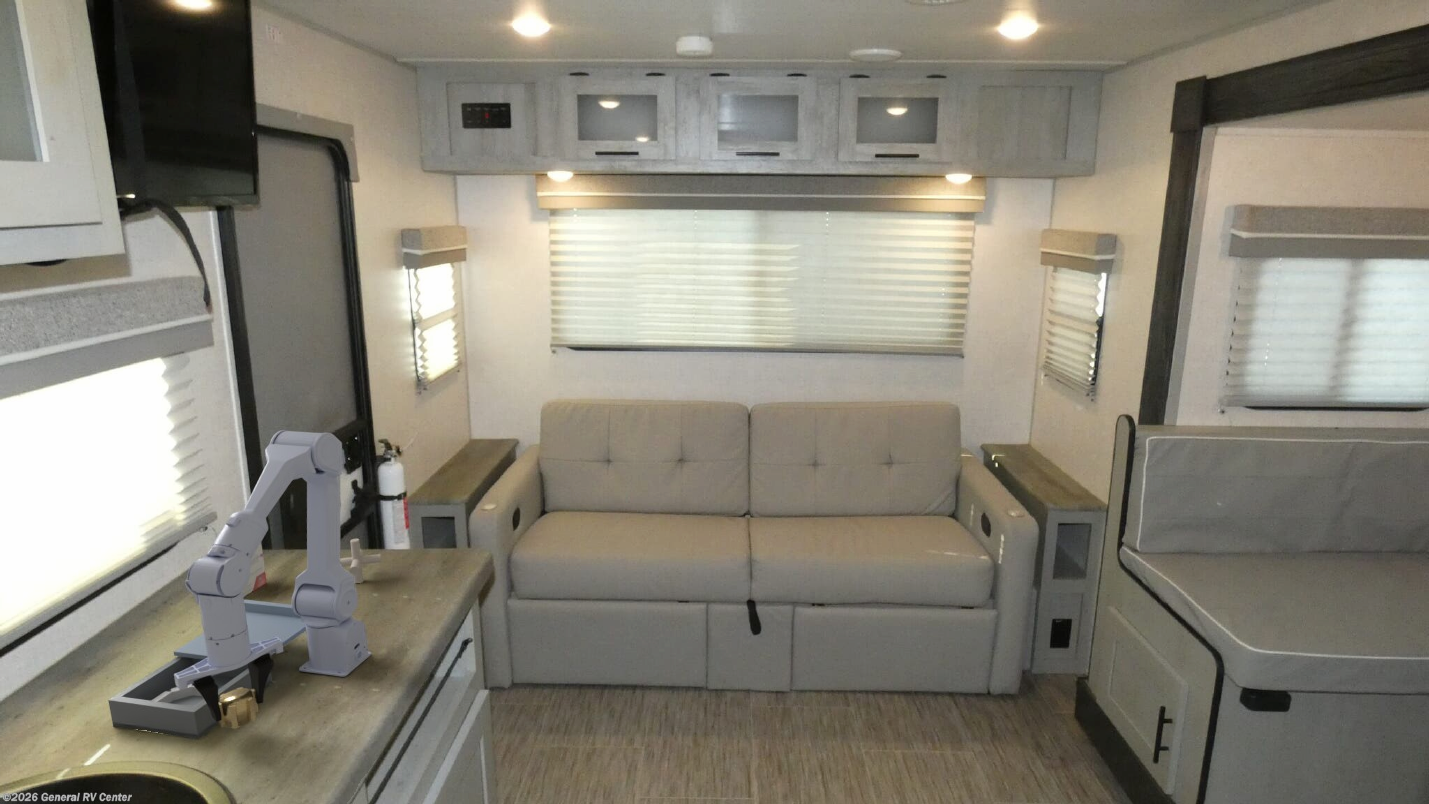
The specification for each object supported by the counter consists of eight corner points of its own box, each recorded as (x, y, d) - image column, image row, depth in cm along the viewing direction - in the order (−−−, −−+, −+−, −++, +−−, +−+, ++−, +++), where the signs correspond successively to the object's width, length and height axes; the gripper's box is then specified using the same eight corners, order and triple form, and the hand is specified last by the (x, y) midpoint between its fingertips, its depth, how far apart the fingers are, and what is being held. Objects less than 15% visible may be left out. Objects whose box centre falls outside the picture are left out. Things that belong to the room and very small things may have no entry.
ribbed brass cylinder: (265, 711, 128) (262, 689, 127) (242, 731, 124) (238, 707, 123) (236, 707, 129) (233, 685, 128) (212, 726, 125) (208, 703, 124)
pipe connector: (337, 575, 184) (333, 534, 182) (384, 570, 187) (380, 529, 185) (331, 594, 175) (326, 551, 172) (380, 588, 178) (376, 546, 175)
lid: (320, 620, 153) (318, 607, 152) (256, 666, 137) (254, 652, 137) (245, 611, 156) (243, 599, 156) (174, 655, 141) (172, 642, 140)
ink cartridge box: (248, 581, 181) (239, 519, 178) (267, 583, 180) (259, 521, 177) (218, 598, 173) (208, 534, 170) (238, 600, 172) (229, 536, 169)
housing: (272, 683, 142) (269, 658, 141) (198, 739, 126) (194, 712, 125) (194, 672, 145) (190, 648, 144) (113, 726, 129) (108, 700, 128)
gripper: (266, 605, 131) (276, 680, 134) (162, 640, 120) (176, 720, 123) (284, 619, 126) (294, 696, 129) (177, 657, 116) (191, 740, 119)
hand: (238, 709), depth 126 cm, fingers closed on ribbed brass cylinder, 5 cm apart
